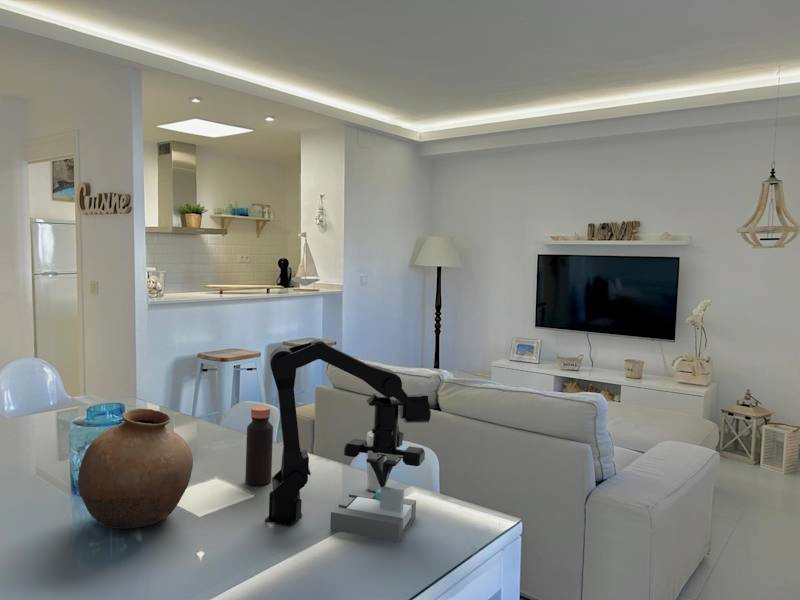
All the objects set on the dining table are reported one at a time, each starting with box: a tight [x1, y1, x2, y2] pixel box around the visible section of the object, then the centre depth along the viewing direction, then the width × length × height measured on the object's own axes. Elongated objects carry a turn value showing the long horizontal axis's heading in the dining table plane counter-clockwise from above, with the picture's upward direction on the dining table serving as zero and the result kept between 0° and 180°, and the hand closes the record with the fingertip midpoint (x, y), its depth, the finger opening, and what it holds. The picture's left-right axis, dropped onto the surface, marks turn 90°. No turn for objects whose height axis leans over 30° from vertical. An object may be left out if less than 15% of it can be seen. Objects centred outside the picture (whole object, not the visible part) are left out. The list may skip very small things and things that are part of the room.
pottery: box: [77, 408, 194, 530], centre depth 130 cm, size 23×23×25 cm
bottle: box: [244, 405, 274, 487], centre depth 158 cm, size 7×7×20 cm
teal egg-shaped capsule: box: [375, 489, 381, 500], centre depth 142 cm, size 3×3×3 cm
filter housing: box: [329, 489, 417, 543], centre depth 136 cm, size 16×14×4 cm
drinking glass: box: [366, 430, 389, 493], centre depth 157 cm, size 7×7×15 cm
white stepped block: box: [346, 486, 412, 529], centre depth 136 cm, size 14×7×7 cm, turn 74°
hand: (382, 487), depth 142 cm, fingers closed
